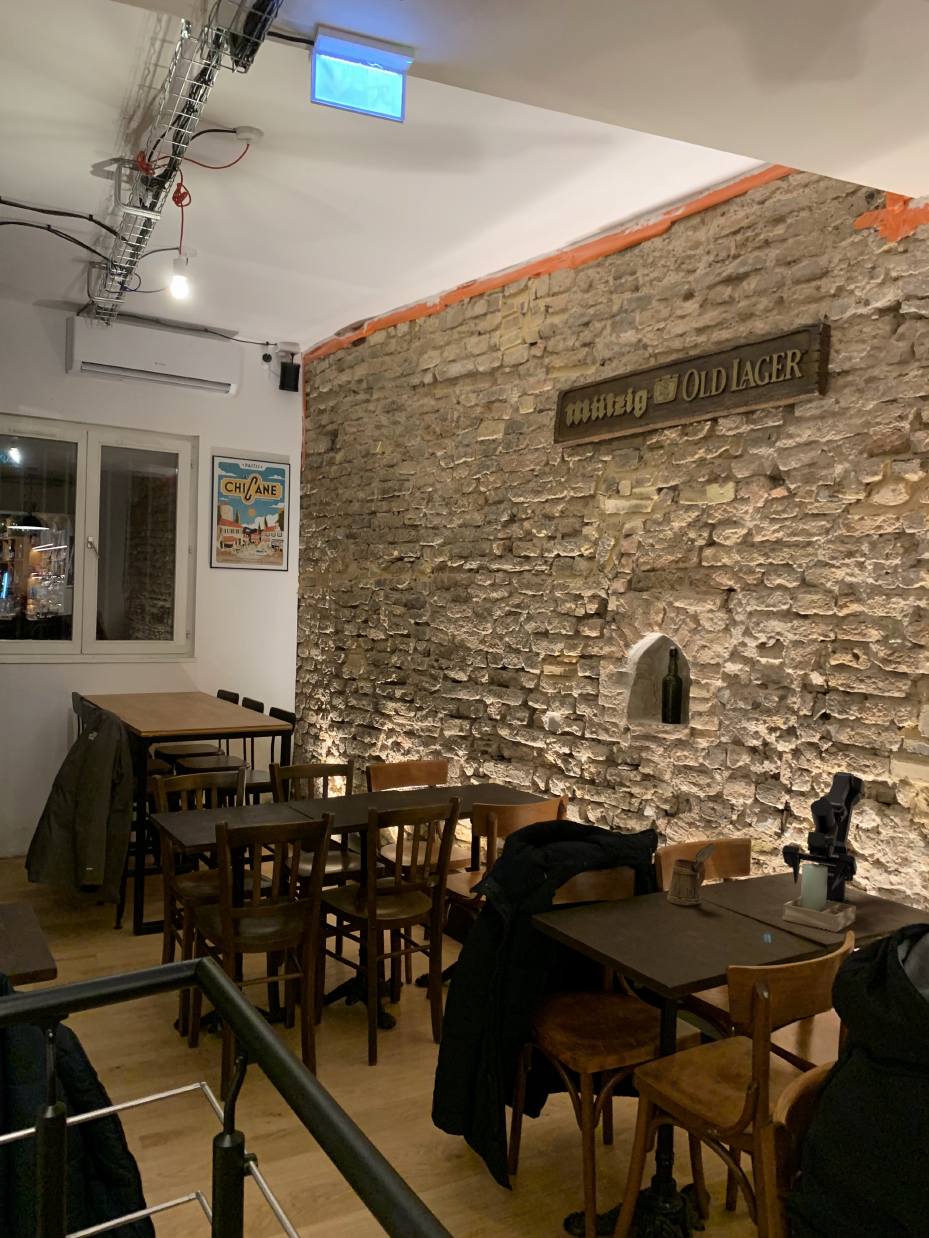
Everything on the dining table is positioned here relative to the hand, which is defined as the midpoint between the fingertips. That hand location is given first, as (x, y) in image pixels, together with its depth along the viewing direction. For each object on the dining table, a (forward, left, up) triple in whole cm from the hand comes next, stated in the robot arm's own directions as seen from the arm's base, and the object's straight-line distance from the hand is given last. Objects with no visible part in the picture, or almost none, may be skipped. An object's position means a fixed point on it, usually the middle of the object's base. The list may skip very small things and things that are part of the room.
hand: (812, 885), depth 255 cm
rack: (-1, +2, -9) cm, 9 cm away
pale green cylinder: (-2, 0, -8) cm, 8 cm away
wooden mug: (+12, -29, -9) cm, 33 cm away
